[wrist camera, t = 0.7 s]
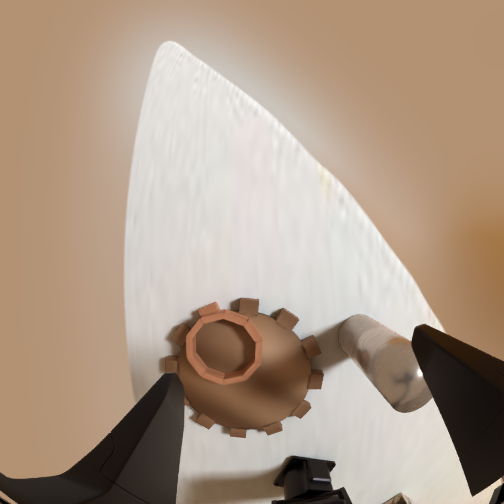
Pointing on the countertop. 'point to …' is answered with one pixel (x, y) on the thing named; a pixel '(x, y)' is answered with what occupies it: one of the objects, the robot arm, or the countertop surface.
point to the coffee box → (400, 500)
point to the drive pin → (385, 362)
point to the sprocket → (245, 368)
